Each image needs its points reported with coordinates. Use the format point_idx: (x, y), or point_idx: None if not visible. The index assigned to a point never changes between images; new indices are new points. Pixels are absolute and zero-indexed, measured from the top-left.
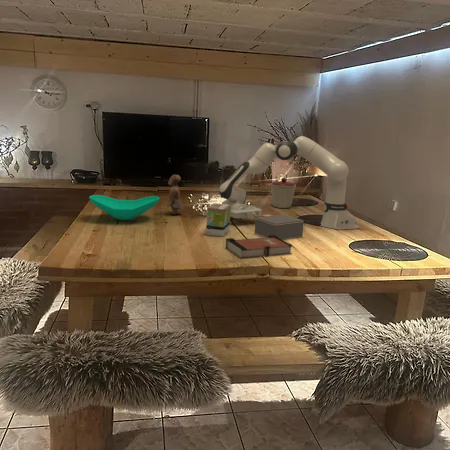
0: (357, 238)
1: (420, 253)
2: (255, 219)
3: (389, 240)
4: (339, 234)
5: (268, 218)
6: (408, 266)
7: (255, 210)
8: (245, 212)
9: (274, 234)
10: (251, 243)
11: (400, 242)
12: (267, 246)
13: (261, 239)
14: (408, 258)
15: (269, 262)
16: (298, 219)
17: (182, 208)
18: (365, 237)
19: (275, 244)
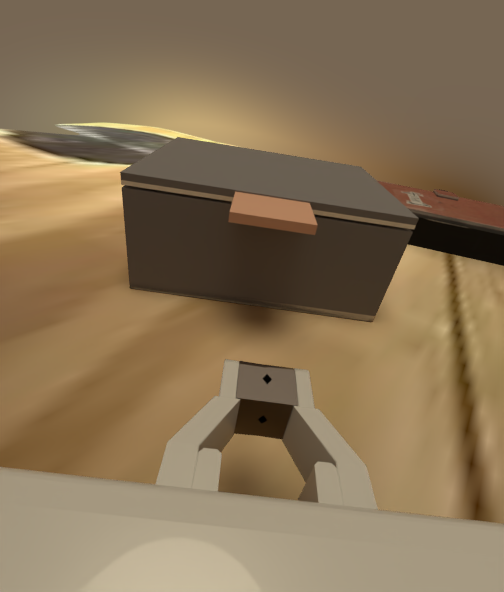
0: (40, 159)
1: (96, 128)
2: (412, 232)
3: (2, 136)
4: (13, 177)
5: (333, 188)
6: (201, 139)
7: (40, 477)
8: (401, 515)
9: None
10: (485, 213)
11: (10, 131)
12: (443, 190)
13: (437, 211)
14: (152, 136)
15: None
16: (184, 143)
17: None
18: (4, 152)
19: (408, 190)
